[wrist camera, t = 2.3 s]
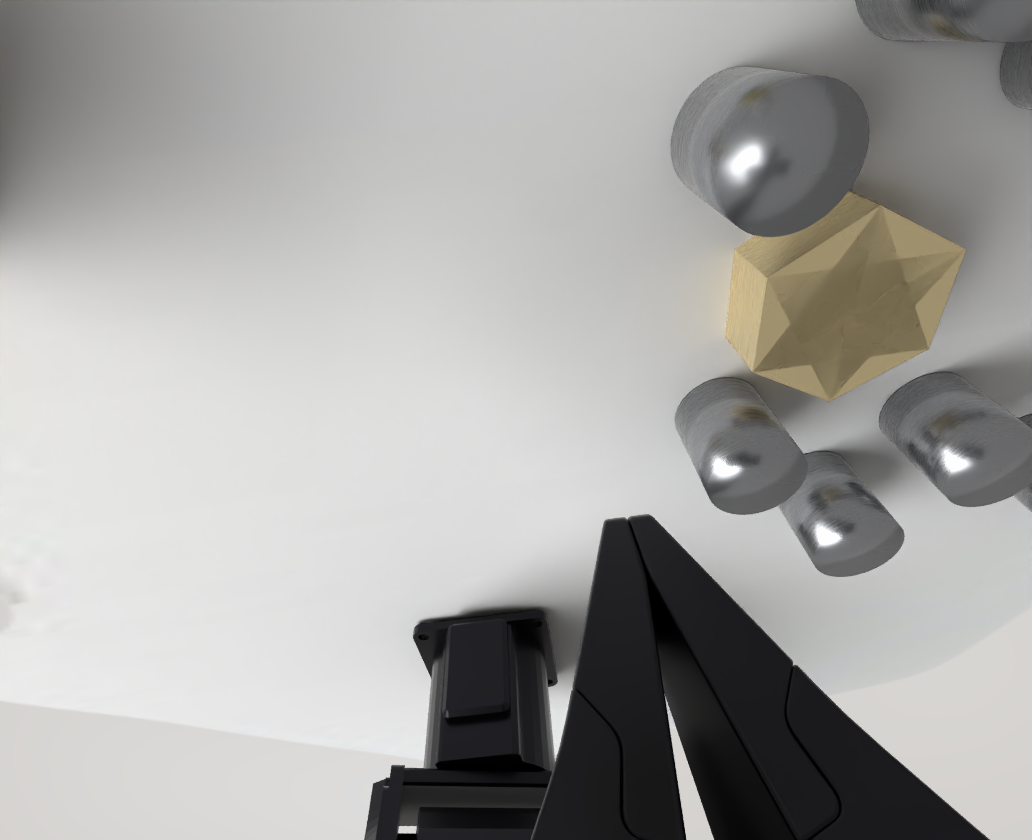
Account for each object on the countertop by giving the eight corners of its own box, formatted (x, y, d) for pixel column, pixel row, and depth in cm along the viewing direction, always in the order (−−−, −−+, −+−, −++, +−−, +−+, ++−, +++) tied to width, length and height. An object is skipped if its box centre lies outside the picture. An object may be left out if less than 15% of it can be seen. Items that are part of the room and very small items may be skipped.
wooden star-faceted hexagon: (925, 286, 17) (983, 319, 15) (753, 384, 19) (783, 425, 17) (882, 146, 14) (945, 165, 12) (688, 277, 16) (716, 310, 14)
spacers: (1050, 475, 22) (1134, 542, 19) (657, 524, 22) (681, 595, 19) (1501, -238, 10) (1880, -338, 8) (679, -92, 11) (744, -135, 8)
